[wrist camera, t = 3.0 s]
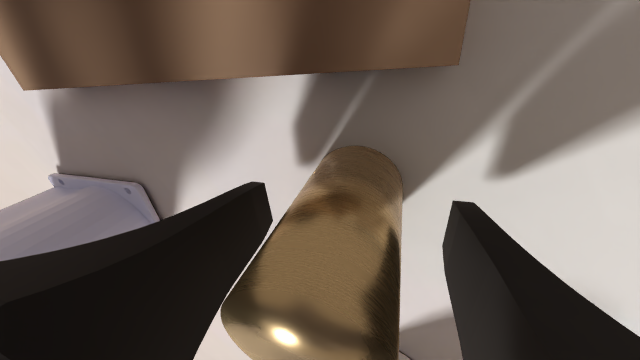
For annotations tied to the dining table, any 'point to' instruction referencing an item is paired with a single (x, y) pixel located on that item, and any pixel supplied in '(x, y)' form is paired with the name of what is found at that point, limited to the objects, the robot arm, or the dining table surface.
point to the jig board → (221, 38)
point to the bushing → (327, 268)
